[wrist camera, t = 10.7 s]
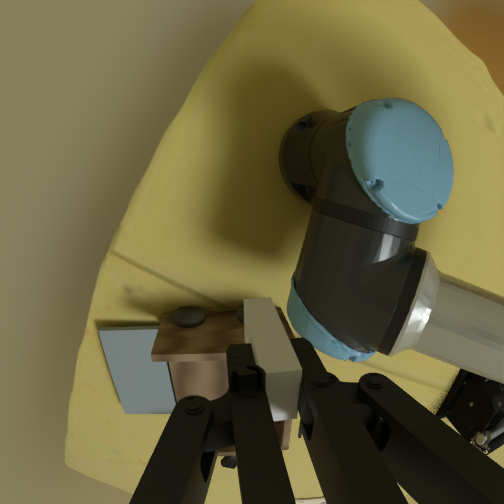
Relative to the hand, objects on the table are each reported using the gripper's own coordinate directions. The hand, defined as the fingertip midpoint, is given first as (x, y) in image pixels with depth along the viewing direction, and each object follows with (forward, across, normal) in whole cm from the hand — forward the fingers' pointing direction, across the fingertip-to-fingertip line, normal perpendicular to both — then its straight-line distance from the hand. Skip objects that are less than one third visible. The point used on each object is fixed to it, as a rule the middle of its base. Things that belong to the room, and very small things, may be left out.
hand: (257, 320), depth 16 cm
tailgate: (+28, -12, -26) cm, 40 cm away
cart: (+29, -2, -26) cm, 39 cm away
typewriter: (+30, +76, -48) cm, 95 cm away
